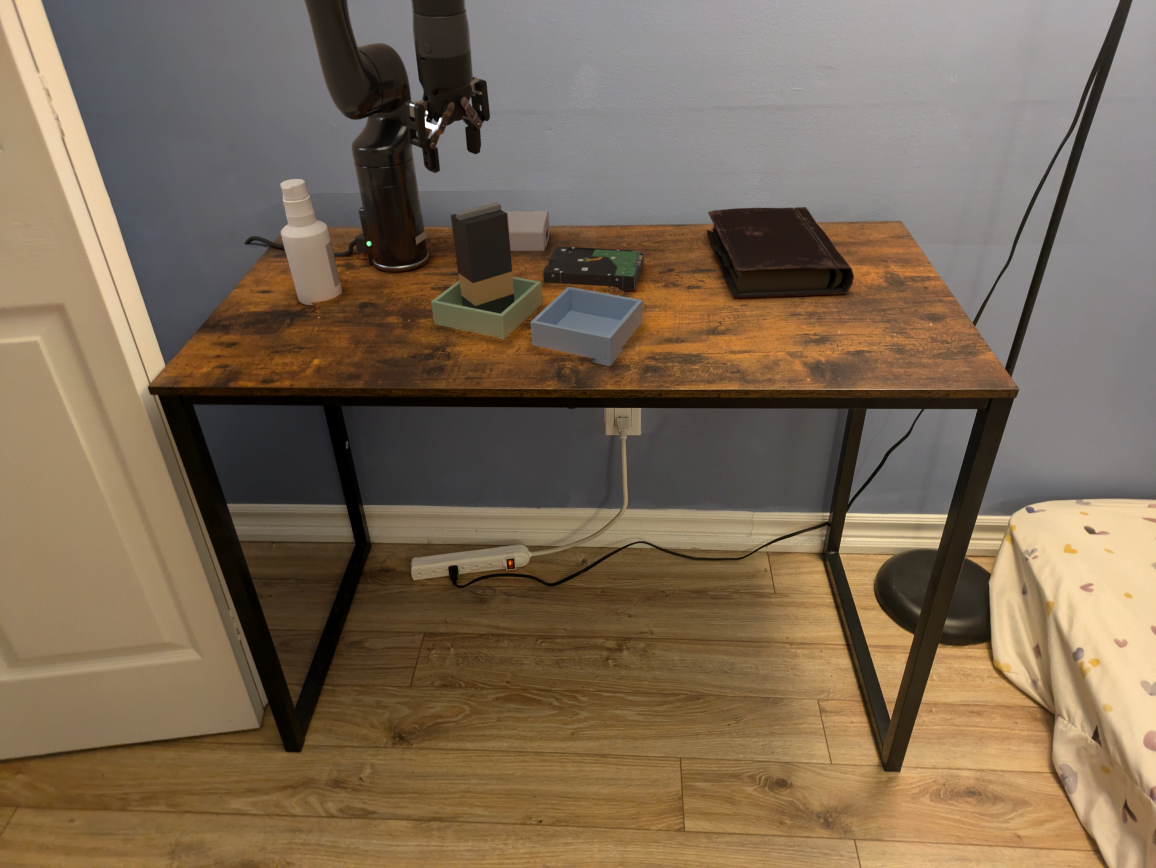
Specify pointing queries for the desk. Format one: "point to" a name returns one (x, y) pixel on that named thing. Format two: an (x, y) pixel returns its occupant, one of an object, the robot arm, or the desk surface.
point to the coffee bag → (484, 257)
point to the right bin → (587, 324)
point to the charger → (528, 230)
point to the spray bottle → (308, 247)
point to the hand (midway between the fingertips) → (453, 161)
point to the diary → (776, 253)
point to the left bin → (486, 322)
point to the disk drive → (594, 267)
